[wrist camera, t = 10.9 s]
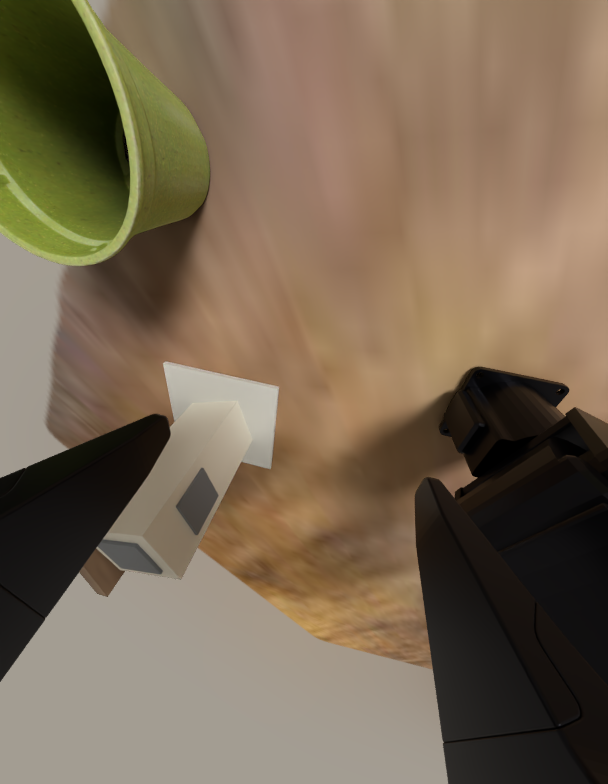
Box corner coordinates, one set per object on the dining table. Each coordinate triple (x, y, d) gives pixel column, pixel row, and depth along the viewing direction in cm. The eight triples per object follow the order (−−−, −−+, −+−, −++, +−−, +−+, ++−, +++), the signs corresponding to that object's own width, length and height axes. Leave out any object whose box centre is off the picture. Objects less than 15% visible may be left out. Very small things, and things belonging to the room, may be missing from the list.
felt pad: (279, 386, 24) (277, 389, 23) (271, 466, 30) (270, 469, 30) (165, 361, 25) (163, 363, 24) (181, 443, 31) (179, 446, 30)
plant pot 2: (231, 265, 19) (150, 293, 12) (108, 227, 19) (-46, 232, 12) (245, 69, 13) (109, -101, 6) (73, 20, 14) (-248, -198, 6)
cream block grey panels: (239, 400, 25) (142, 540, 14) (254, 439, 27) (181, 583, 17) (192, 403, 26) (71, 531, 15) (210, 440, 29) (117, 573, 18)
